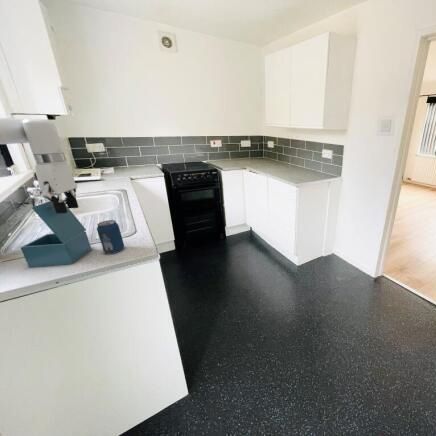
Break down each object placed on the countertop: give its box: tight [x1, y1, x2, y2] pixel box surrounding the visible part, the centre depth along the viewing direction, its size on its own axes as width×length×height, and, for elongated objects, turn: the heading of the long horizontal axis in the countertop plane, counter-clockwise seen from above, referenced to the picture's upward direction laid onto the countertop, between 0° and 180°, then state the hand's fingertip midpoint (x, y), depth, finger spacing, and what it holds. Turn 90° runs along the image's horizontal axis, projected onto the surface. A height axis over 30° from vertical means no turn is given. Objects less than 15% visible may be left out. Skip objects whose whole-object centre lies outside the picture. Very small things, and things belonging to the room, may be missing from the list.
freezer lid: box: [31, 198, 87, 244], centre depth 89 cm, size 15×12×6 cm
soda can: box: [96, 219, 125, 255], centre depth 96 cm, size 7×7×12 cm
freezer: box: [20, 231, 92, 268], centre depth 92 cm, size 14×12×8 cm
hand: (67, 209), depth 88 cm, fingers closed on freezer lid, 5 cm apart
